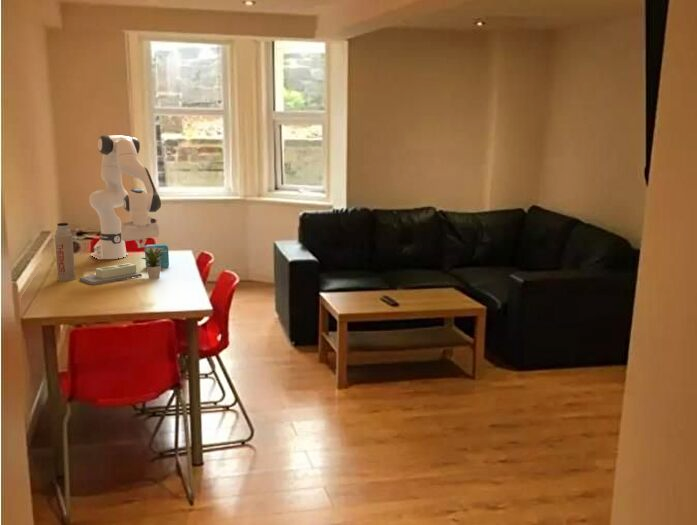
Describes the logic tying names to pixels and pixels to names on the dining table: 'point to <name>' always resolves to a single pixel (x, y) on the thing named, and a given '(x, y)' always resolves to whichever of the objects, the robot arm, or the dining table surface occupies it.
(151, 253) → the house plant
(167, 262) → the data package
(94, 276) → the boss board
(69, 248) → the thermos bottle
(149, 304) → the dining table surface
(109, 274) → the cream rectangular bar
